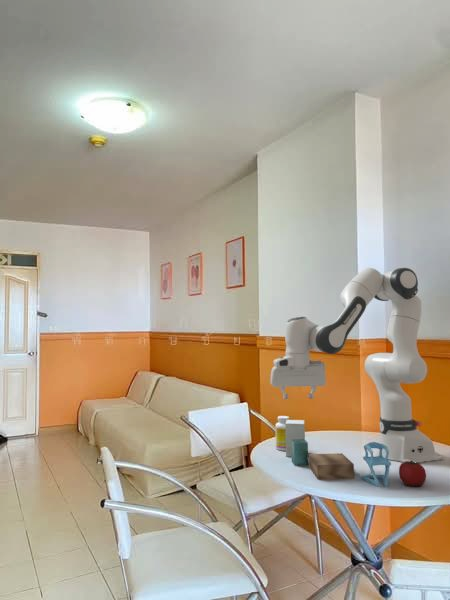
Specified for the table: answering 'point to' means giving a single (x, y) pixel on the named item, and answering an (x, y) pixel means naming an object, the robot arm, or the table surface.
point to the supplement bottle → (281, 433)
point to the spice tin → (299, 452)
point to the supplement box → (294, 433)
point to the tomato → (412, 473)
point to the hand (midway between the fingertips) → (298, 398)
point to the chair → (376, 463)
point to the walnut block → (331, 466)
